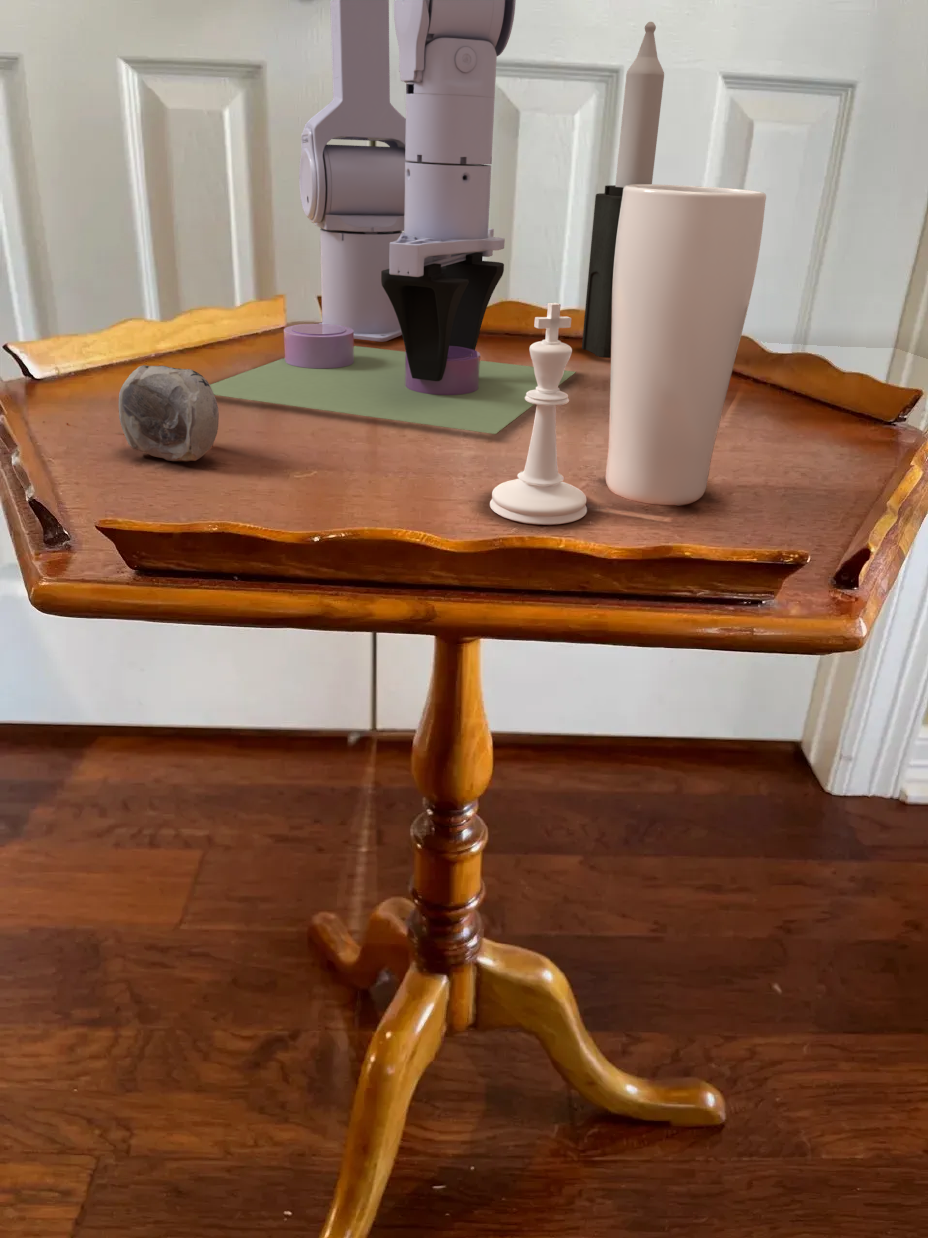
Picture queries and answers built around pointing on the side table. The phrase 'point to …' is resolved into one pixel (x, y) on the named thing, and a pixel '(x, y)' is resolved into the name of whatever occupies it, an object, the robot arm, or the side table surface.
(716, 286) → the drinking glass
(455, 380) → the mauve dish
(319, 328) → the lilac dish
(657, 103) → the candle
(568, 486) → the chess piece
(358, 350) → the placemat
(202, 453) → the fossil
